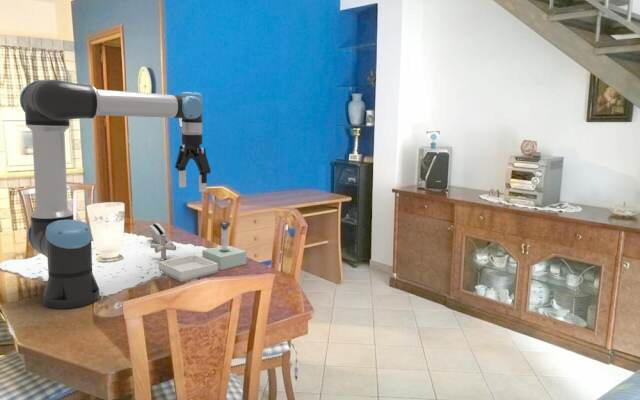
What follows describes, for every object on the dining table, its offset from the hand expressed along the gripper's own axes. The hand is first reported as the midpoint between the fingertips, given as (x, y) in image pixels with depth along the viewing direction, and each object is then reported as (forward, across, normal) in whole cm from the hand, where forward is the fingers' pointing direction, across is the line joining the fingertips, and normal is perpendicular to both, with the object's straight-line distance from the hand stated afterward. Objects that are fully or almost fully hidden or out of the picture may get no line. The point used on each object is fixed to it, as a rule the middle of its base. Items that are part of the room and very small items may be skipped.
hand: (192, 189), depth 183 cm
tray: (+28, -12, +10) cm, 32 cm away
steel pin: (+28, -12, -6) cm, 31 cm away
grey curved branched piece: (+28, +29, -2) cm, 40 cm away
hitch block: (+28, -12, -6) cm, 31 cm away
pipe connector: (+28, +7, +9) cm, 30 cm away
